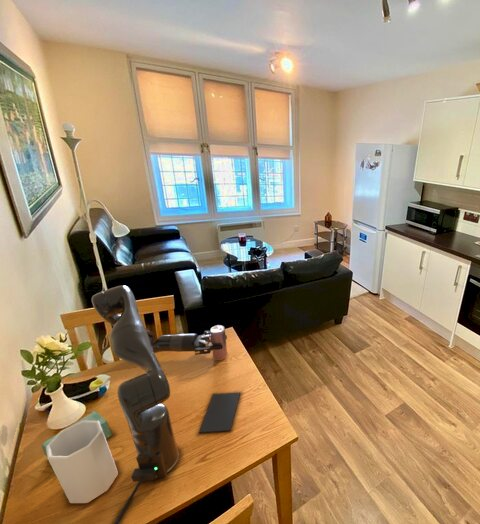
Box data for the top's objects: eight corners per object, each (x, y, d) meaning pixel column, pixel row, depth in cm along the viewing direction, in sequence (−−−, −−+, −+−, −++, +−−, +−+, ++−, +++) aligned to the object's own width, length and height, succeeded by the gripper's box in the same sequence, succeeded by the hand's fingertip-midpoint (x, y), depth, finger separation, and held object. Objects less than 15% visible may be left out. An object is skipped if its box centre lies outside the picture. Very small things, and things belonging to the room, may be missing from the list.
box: (47, 460, 86) (39, 443, 83) (101, 425, 97) (95, 409, 94) (59, 473, 83) (51, 456, 80) (113, 435, 94) (107, 419, 91)
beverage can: (222, 361, 127) (219, 334, 122) (210, 359, 128) (206, 331, 123) (230, 353, 133) (227, 326, 127) (218, 350, 134) (215, 323, 128)
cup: (113, 494, 79) (95, 449, 72) (60, 513, 74) (35, 467, 67) (122, 456, 88) (107, 413, 81) (75, 471, 84) (55, 427, 77)
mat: (230, 430, 99) (230, 429, 98) (199, 433, 97) (199, 432, 97) (240, 393, 113) (240, 392, 113) (213, 395, 112) (213, 394, 111)
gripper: (176, 346, 117) (219, 345, 120) (189, 325, 131) (228, 325, 133) (178, 360, 120) (221, 359, 123) (191, 339, 133) (229, 338, 136)
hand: (224, 341), depth 128 cm, fingers closed on beverage can, 6 cm apart
